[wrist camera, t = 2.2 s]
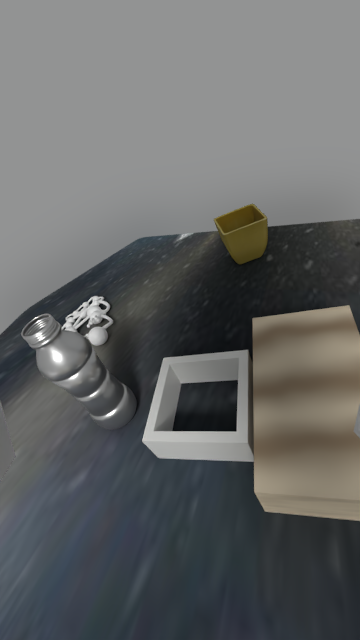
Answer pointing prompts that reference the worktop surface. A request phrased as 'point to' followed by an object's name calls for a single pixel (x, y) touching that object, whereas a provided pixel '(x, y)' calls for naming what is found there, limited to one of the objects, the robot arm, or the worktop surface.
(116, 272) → the worktop surface
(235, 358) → the frame
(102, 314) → the tangled rod sculpture
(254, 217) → the flower pot
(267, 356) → the beige rectangular block
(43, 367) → the plastic bottle
